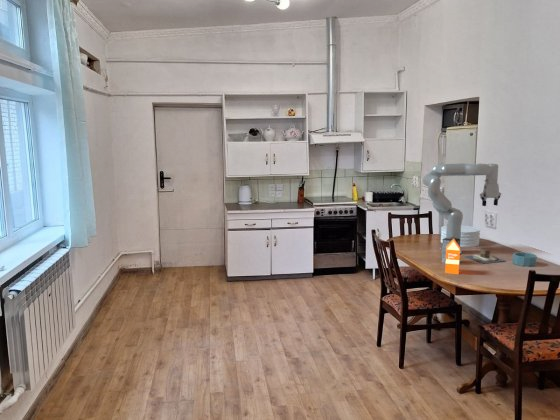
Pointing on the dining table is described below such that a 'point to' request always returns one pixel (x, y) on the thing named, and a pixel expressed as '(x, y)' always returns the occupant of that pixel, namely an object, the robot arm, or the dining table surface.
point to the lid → (485, 256)
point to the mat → (485, 261)
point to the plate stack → (465, 236)
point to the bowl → (524, 259)
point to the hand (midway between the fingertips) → (489, 205)
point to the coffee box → (446, 243)
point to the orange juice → (452, 258)
